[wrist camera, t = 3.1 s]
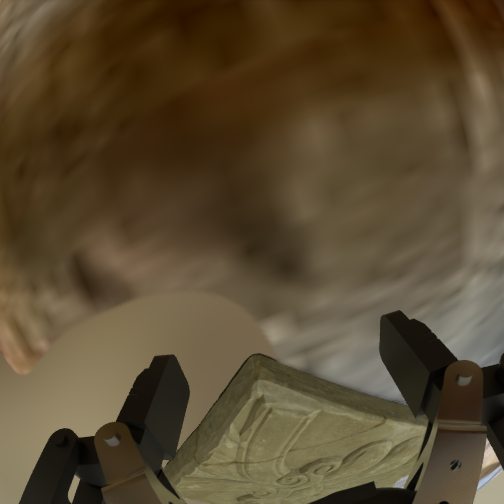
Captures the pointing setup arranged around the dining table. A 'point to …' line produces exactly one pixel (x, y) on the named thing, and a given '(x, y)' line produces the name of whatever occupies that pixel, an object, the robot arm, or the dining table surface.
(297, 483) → the decorative tile
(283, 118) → the dining table surface
